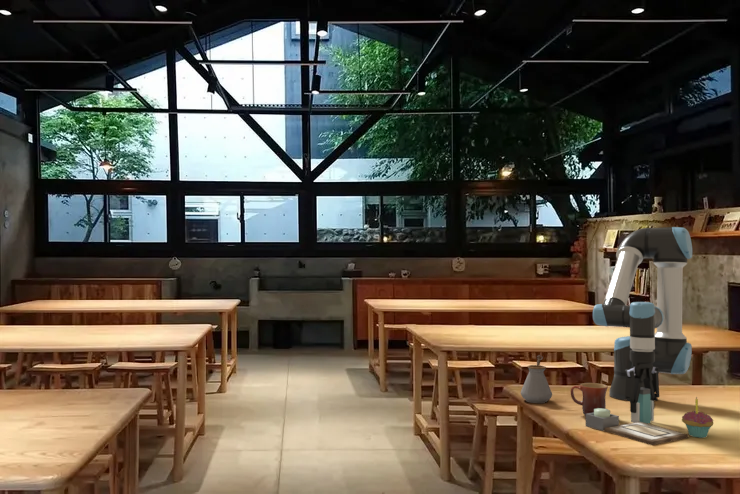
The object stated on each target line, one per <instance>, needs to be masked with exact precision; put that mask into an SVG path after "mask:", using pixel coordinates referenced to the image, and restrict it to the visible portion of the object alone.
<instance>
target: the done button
mask: <svg viewBox="0 0 740 494" xmlns="http://www.w3.org/2000/svg"><path fill="white" fill-rule="evenodd" d="M610 414H611V410H610V409H608V408H606V409H602V408H597V409H594V416H598V417H602V418H605V417H610Z"/></svg>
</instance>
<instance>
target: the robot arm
mask: <svg viewBox="0 0 740 494" xmlns="http://www.w3.org/2000/svg"><path fill="white" fill-rule="evenodd" d="M615 258H616V261H615V266H614V268H613V272H612V275H611V278H610V281H609V283H608V287H607V290H606V294H605V297H604V299H603V303H600V304H599V303H598V304H595V305H594V306H593V309H592V320H593V322H594V324H595V325H597V326H602V327H612V328H613V327H614V328H615V327H618V328H620V327H621V328H629V335H627V336H626V335H625V336H620V337H617V338H616V339H614V344H613V345H614V347H613V348H614V349H613V359H614V360H613V361H614V363H613V372H614V373H613V374H614V375H613V378H612V382H611V385H610V387H609V395H608V396H609V397H611V398H613V399H616V400H622V401H627V402H629V403H630V404H629V408H630V409H629V411H630V423H635V422H640V403H637V402H638V398H639V393H640V388H641V387H643V388H648V389H650V421H651V422H654V421H655V417H654V416H655V401H656V402H657V401H658V399H659V398H660V384H659V381H660V380H659V375H660V374H659V373H662V374H670V375H684V374H686V373H687V372H688V370H689V367H690V364H691V359H692V354H693V352H692V351H693V350H692V347H693V346H692V344H691V342H688V341H687V336H686V335H685V334H683V287H684V286H683V281H684V280H683V279H684V277H683V268H684V267H685V266H687V265H688V260H690V259H692V258H693V245H692V239H691V235H690V232H689V230H688V229H686V228H685V227H678V226H668V227H664V226H663V227H642V228H639V229H636V230H634V231H633V232H631V233H629V234H628V235H626V237H625V238H624V239H623V240H622V241H621V243H620V244H619V246H618V247H617V250H616V254H615ZM644 259H652V264H653V265H655V267H656V268H657V271H656V274H657V277H656V278H657V279H656V281H657V282H656V283H657V284H656V288H657V290H656V292H657V293H656V306H655V303H653V302H648V301H633V302H631V303H630V305H627V304H628V300H629V298H630V297H629V296H630V293H631V290H632V286H633V283H634V279H635V276H636V273H637V269H638V266H640V264H642V262H643V260H644ZM655 329H656V330H655Z"/></svg>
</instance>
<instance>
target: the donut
mask: <svg viewBox="0 0 740 494" xmlns="http://www.w3.org/2000/svg"><path fill="white" fill-rule="evenodd" d="M681 418H682V419H681V422H682V423H684V424H685V426H686V428H687V431H688V436H691V437H695V438H706V437H708V433H709V431H710V429H711V428H712V427H713V425H714V419H713V417H711V416H710V415H709V414H707V413H705V412H702V411H699V399H698V397H697V396H696V397H695V410H693V411H688V412H686V413H684V415H682V416H681Z"/></svg>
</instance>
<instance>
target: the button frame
mask: <svg viewBox="0 0 740 494" xmlns="http://www.w3.org/2000/svg"><path fill="white" fill-rule="evenodd" d="M618 425H620V415H616V414H612V413H610V417H605V418H602V417H598V416H594V413H588V414H586V416H585V427H589V428H592V429H595V430H598V431H601V432H606V431H605V428H606V427H612V426H618Z"/></svg>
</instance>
